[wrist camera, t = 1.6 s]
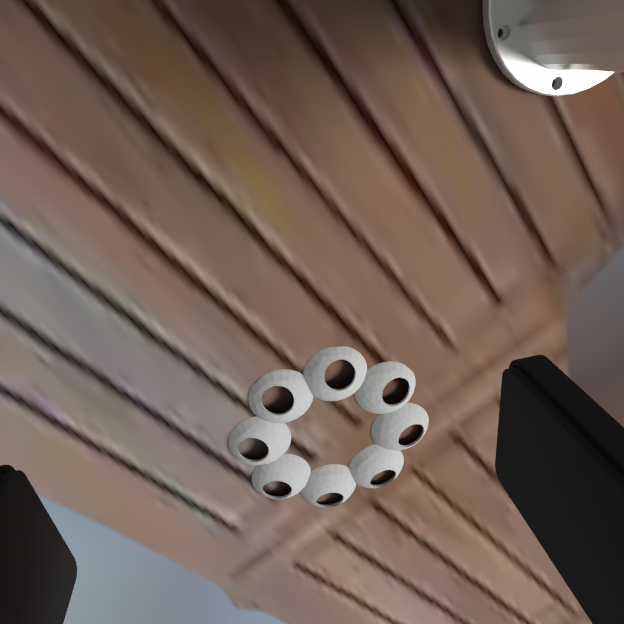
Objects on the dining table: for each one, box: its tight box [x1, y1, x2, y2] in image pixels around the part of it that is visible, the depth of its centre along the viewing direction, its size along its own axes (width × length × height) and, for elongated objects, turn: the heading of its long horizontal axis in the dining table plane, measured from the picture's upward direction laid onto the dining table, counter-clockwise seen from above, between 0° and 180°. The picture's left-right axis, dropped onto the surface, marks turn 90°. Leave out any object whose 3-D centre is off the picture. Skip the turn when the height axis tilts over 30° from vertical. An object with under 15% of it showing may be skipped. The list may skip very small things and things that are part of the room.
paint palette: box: [229, 346, 429, 508], centre depth 45 cm, size 20×20×2 cm
